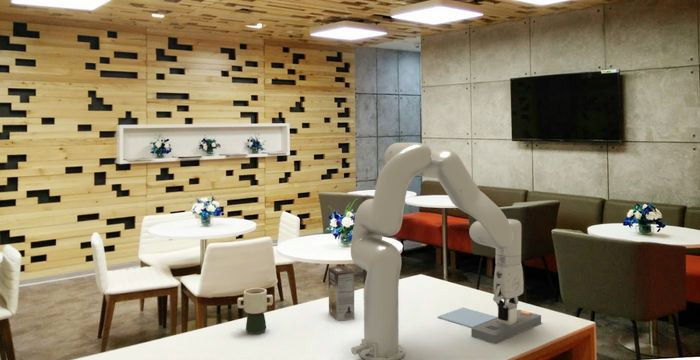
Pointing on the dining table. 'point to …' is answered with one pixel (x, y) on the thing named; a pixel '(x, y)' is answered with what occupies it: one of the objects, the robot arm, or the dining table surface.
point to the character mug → (255, 308)
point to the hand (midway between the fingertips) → (507, 317)
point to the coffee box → (341, 293)
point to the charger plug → (510, 314)
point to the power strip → (505, 327)
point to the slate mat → (467, 317)
